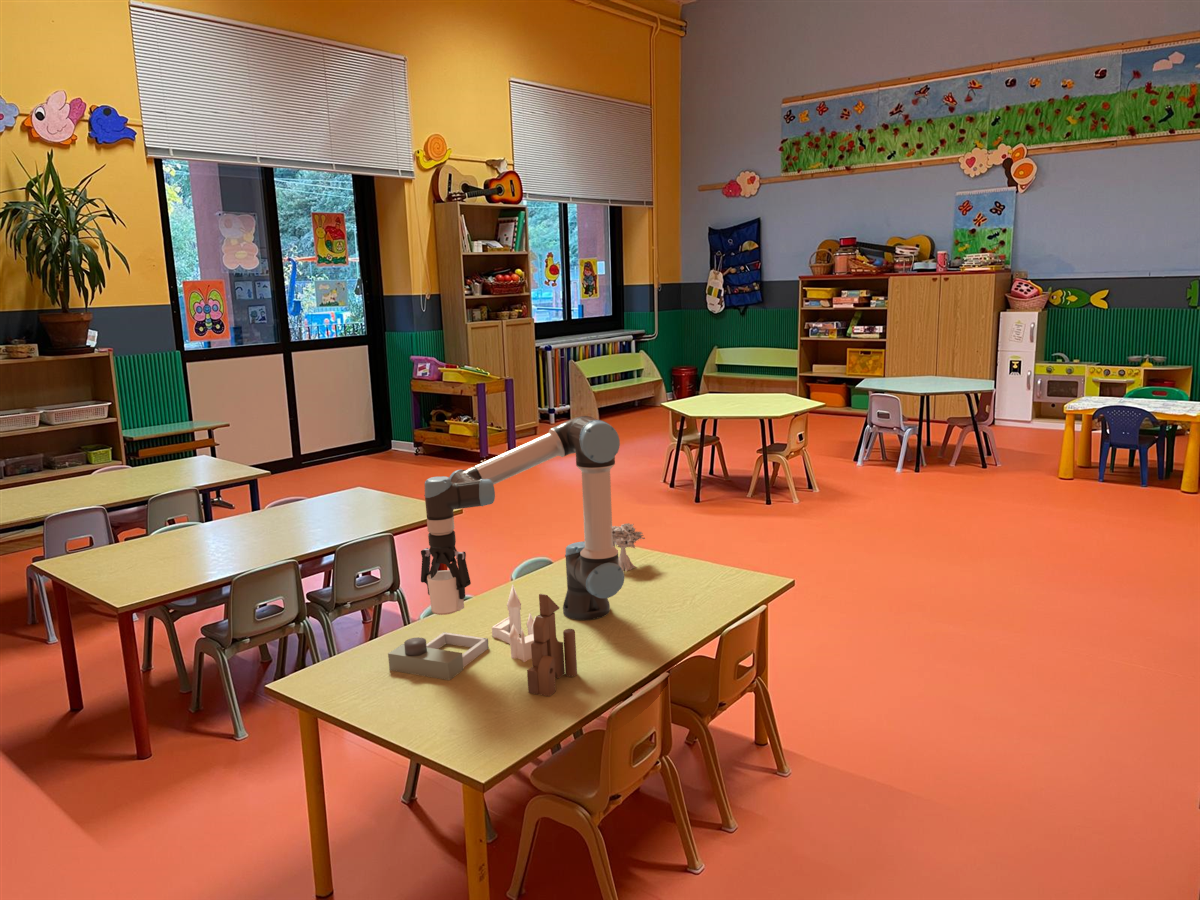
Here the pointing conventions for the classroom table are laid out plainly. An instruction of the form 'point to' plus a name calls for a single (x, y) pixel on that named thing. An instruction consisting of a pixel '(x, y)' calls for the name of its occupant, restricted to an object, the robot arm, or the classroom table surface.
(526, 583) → the classroom table surface
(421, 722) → the classroom table surface
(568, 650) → the wooden toy
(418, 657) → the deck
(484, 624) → the classroom table surface
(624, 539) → the tree
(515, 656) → the toy castle
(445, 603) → the mug
